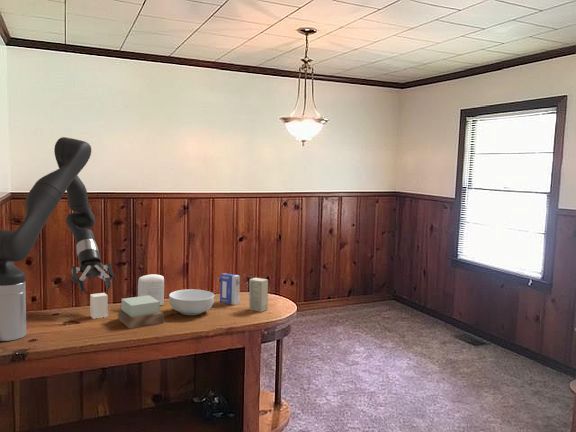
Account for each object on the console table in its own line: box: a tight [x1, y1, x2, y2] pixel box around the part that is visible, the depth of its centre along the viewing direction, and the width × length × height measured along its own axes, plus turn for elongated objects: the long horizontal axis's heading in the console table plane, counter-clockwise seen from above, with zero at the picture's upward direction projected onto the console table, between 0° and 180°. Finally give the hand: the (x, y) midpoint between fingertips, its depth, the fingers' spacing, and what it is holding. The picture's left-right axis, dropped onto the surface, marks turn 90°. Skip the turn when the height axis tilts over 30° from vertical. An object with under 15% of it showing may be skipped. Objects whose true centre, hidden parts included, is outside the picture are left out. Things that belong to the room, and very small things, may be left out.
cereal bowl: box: [168, 288, 215, 316], centre depth 185 cm, size 17×17×7 cm
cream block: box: [89, 292, 109, 320], centre depth 176 cm, size 5×4×8 cm
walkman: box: [219, 272, 241, 306], centre depth 200 cm, size 8×3×12 cm, turn 60°
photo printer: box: [137, 273, 165, 306], centre depth 192 cm, size 10×4×12 cm, turn 123°
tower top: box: [121, 295, 161, 317], centre depth 172 cm, size 10×10×4 cm
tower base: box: [118, 308, 165, 329], centre depth 172 cm, size 12×12×4 cm
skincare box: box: [248, 277, 269, 313], centre depth 191 cm, size 6×4×12 cm
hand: (96, 289), depth 178 cm, fingers open, 8 cm apart
